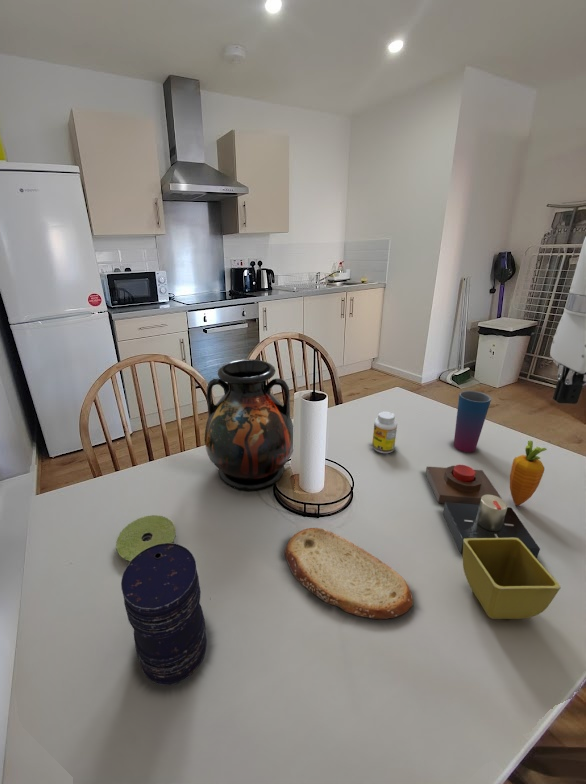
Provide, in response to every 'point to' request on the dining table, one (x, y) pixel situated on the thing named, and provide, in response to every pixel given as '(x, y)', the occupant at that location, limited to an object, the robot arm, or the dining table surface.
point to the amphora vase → (249, 426)
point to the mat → (144, 535)
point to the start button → (464, 473)
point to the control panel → (466, 526)
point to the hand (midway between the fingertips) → (564, 401)
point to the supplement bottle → (384, 432)
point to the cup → (470, 419)
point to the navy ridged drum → (165, 612)
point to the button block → (458, 486)
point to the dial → (491, 512)
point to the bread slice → (347, 575)
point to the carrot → (526, 474)
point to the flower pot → (507, 578)
